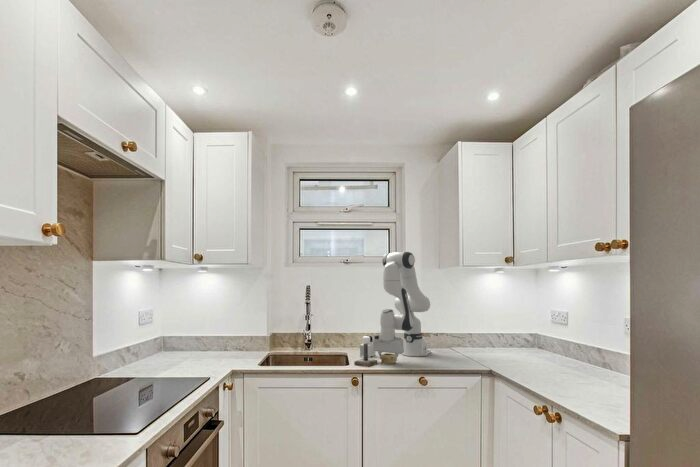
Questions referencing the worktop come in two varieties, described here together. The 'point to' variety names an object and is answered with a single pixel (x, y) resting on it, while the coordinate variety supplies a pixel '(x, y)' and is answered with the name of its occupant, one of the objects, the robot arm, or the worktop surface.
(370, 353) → the container
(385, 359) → the collar
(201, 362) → the worktop surface
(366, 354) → the post board
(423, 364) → the worktop surface
